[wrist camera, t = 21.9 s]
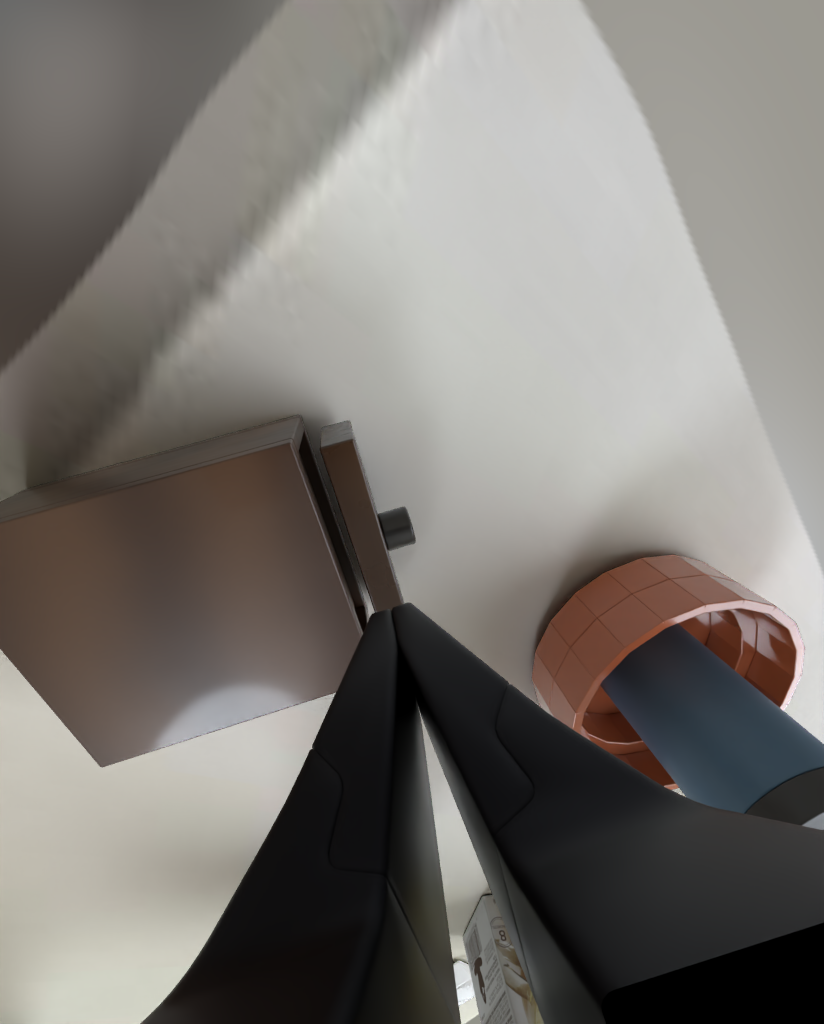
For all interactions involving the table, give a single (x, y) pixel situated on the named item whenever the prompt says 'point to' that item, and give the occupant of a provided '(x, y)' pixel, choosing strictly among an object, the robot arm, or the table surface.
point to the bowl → (640, 616)
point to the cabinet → (179, 591)
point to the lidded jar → (718, 731)
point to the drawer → (364, 517)
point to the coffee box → (497, 970)
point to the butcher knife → (463, 982)
